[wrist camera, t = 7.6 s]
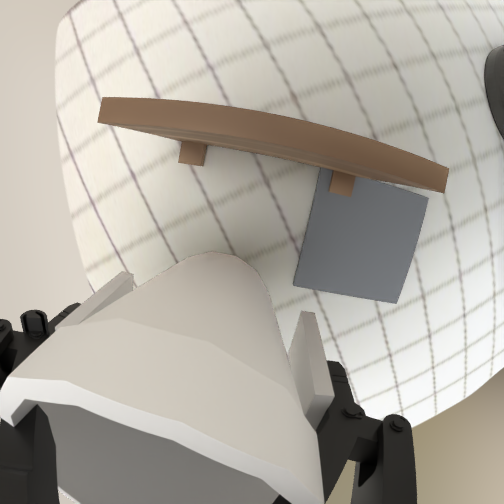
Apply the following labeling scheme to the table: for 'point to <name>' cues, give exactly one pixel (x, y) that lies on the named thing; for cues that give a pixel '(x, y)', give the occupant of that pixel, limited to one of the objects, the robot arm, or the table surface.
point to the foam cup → (174, 395)
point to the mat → (360, 239)
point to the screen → (273, 141)
